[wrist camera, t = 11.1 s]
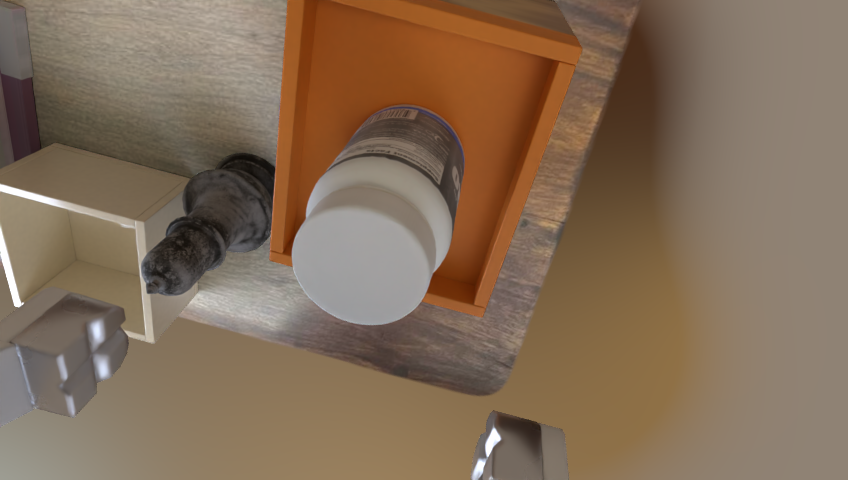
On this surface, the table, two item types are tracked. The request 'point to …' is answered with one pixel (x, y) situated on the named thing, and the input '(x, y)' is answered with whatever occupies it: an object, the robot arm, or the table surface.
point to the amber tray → (432, 89)
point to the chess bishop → (213, 223)
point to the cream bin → (89, 231)
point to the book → (16, 88)
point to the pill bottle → (381, 217)
